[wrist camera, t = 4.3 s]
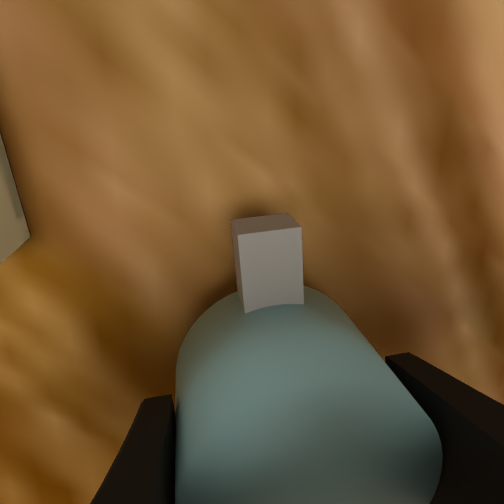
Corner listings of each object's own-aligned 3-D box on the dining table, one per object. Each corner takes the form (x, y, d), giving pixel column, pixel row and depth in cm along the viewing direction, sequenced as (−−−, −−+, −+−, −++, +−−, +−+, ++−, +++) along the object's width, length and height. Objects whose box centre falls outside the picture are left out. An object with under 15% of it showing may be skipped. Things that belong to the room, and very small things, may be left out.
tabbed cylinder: (355, 421, 12) (430, 555, 9) (189, 454, 12) (194, 614, 8) (361, 203, 10) (469, 262, 6) (149, 229, 9) (131, 312, 6)
